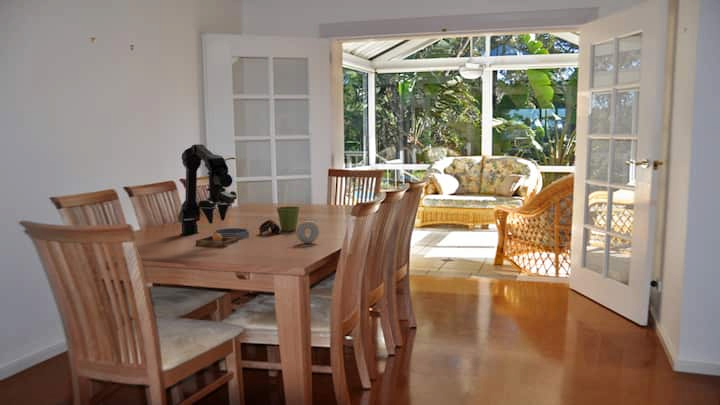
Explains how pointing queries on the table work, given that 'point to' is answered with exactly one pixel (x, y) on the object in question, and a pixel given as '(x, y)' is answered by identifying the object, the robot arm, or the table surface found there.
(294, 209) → the plant pot
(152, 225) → the table surface
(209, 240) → the tray
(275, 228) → the broken clay ring
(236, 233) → the bowl
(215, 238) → the ball
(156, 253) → the table surface
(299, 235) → the donut
